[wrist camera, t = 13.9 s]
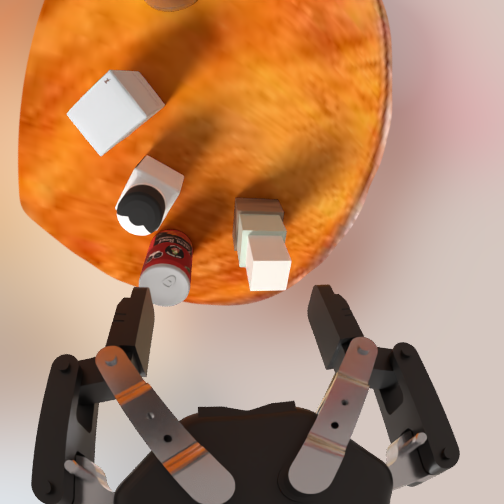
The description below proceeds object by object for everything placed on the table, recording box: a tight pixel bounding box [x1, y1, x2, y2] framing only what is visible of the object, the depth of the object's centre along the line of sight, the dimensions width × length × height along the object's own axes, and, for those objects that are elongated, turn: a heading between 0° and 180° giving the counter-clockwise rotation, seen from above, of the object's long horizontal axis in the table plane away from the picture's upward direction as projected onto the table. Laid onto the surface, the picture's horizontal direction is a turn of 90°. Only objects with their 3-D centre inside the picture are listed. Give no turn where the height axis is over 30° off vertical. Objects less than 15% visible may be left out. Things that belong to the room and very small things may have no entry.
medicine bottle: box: [115, 155, 184, 235], centre depth 38 cm, size 7×7×12 cm
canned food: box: [139, 229, 193, 306], centre depth 45 cm, size 8×8×11 cm
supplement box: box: [67, 70, 165, 156], centre depth 30 cm, size 7×7×13 cm
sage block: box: [237, 214, 287, 267], centre depth 43 cm, size 6×6×5 cm
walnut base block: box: [233, 198, 284, 251], centre depth 47 cm, size 7×7×5 cm
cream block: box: [245, 235, 291, 291], centre depth 38 cm, size 5×5×6 cm
